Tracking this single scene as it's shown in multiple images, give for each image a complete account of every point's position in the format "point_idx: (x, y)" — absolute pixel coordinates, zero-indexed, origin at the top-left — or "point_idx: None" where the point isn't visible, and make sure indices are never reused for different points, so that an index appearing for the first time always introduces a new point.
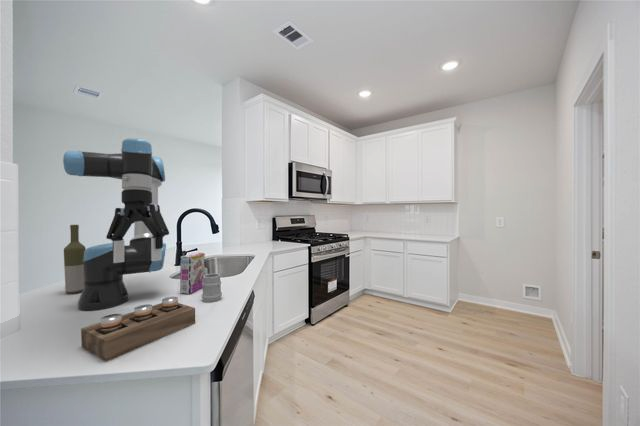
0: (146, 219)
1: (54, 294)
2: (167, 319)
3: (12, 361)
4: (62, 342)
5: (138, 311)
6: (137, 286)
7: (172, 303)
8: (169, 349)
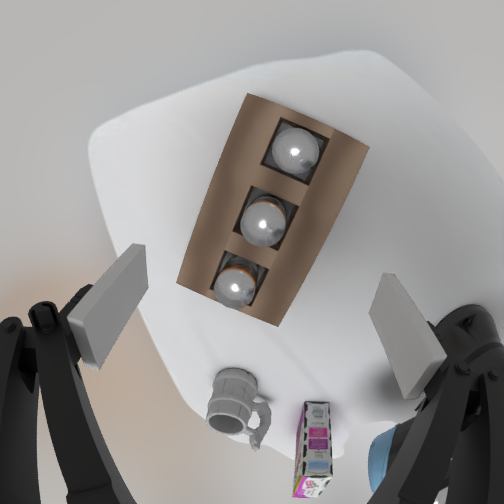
0: (70, 486)
1: None
2: (198, 217)
3: (427, 101)
4: (412, 165)
5: (260, 203)
6: None
7: (219, 275)
8: (165, 157)
